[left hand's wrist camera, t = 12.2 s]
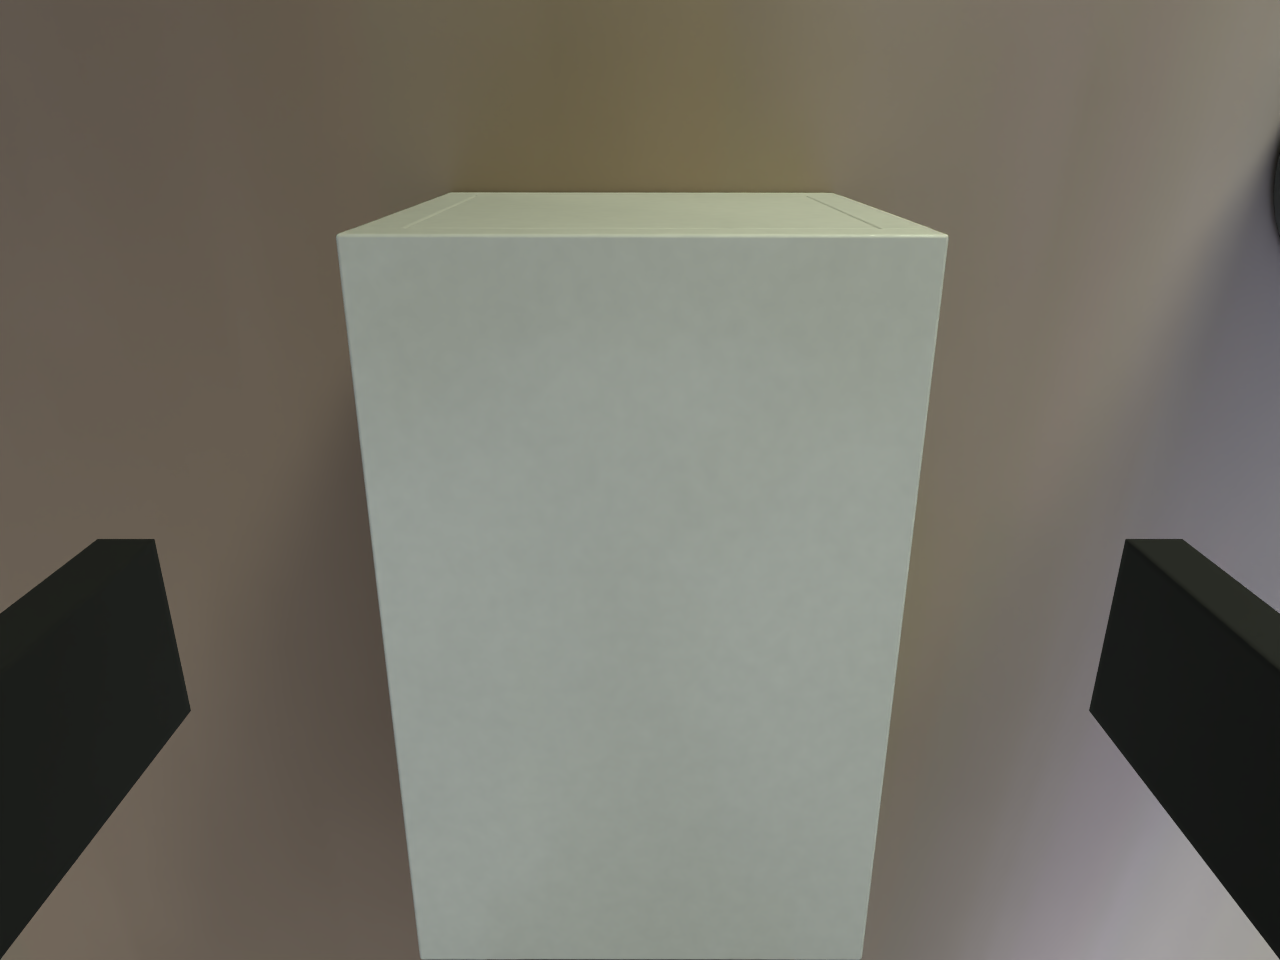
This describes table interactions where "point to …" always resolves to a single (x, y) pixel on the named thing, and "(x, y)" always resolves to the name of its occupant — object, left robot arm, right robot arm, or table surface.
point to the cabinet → (641, 558)
